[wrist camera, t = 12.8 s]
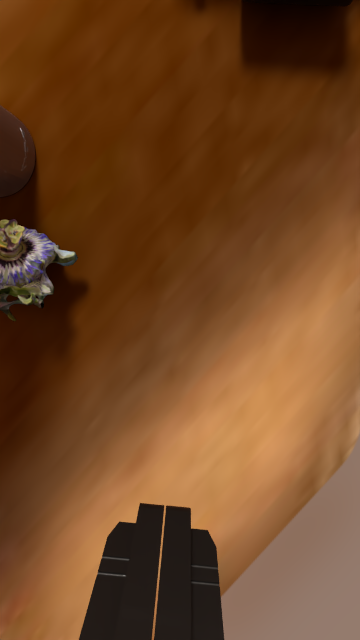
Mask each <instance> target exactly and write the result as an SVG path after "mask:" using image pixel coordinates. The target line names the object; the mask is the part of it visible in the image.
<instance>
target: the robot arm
mask: <svg viewBox="0 0 360 640" xmlns="http://www.w3.org/2000/svg"><path fill="white" fill-rule="evenodd" d="M34 166H35V147H34V143H33V140H32V137H31V135H30V133H29V131H28V129H27V128H26V127H25V126H24V124H23V123H22V122H21V121H20V120H19V119H18V118H16V117H15V116H14V115H13V114H11V113H10V112H9V111H7V110H6V109H5V108H3V107H2V106H1V105H0V197H4V196H9V195H12V194H14V193H16V192H18V191H19V190H20V189H22V188H23V187H24V186H25V184H26V183H27V182H28V181H29V179H30V177H31V175H32V173H33V169H34ZM163 513H164V505H154V504H144V503H140V506H139V510H138V516H137V521H136V523H127V522H119V523H118V524H117V525H116V527H115V528H114V529H113V530H112V532H111V533H110V534H109V536H108V537H107V541H106V544H105V548H104V552H103V555H102V559H101V562H100V566H99V570H98V575H97V577H96V580H95V584H94V587H93V591H92V595H91V598H90V602H89V605H88V609H87V613H86V616H85V620H84V623H83V627H82V630H81V634H80V638H79V640H152V629H153V619H154V609H155V598H156V588H157V578H158V567H159V557H160V546H161V535H162V524H163ZM154 640H224V633H223V621H222V609H221V597H220V587H219V574H218V562H217V550H216V546H215V544H214V542H213V540H212V538H211V536H210V534H209V532H208V530H200V529H191V509H190V508H186V507H176V506H166V515H165V526H164V537H163V547H162V558H161V569H160V580H159V591H158V602H157V614H156V625H155V636H154Z"/></svg>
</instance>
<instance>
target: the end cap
mask: <svg viewBox="0 0 360 640" xmlns="http://www.w3.org/2000/svg"><path fill="white" fill-rule="evenodd" d="M242 1H243V2H255V3H279V4H302V5H326V6H348V5H349V4H350V3H351V2H352V1H353V0H242Z"/></svg>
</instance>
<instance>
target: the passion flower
mask: <svg viewBox="0 0 360 640" xmlns="http://www.w3.org/2000/svg"><path fill="white" fill-rule="evenodd" d="M59 248H60V247H59V245H55V243H53V242H51V241H50V240H49V238H48V237H47V236H46V235H45V234H43V233H37V231H36V230H35V229H33V230H32V229H27V228H26V227H23V226H20V225H17V221H16V220H15V219H12V220H1V221H0V310H1V311H3V312H4V313H5V314H6V315H7V316H8V317H9V318H10V319H11V320H13V321H16V319H15V318H14V316H13V315H12V314H11V312H10V310H9V307H10V306H11V305H13V304H25V305H32V304H34V305H36V306H38V307H39V308H43V307H44V302H43V299H44V298H45V297H46V296H47V295H52V294H53V293H54V286H53V284H52V282H51V281H50V279H49V278H48V276H47V274H46V267H47V266H48V265H49V264H50V263H59V264H61V265H63V266H65V265H66V266H70V265H73V264H74V263H75V262H76V260H77V258H78V257H77V255H76V253H75V252H69V251H65V250H59ZM8 295H12V296H14V297H17V296H18V298H19V299H17V300H15V301H12V302H7V300H6V298H7V296H8ZM35 296H37V297H38V298H39V299H36V298H35Z"/></svg>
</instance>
